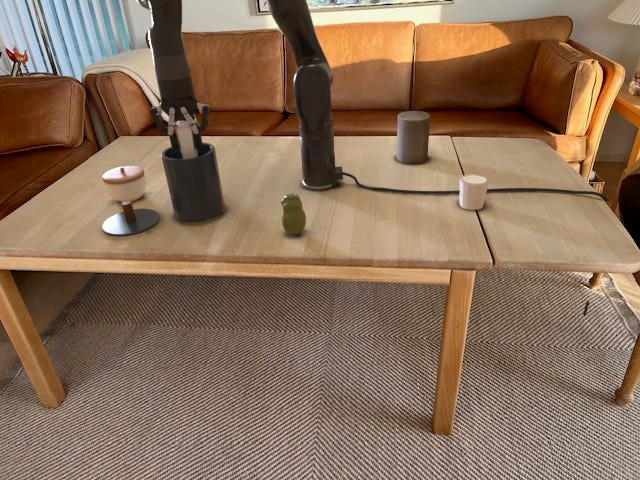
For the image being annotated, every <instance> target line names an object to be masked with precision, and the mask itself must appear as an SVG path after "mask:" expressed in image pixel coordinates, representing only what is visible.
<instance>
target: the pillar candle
mask: <svg viewBox="0 0 640 480" xmlns="http://www.w3.org/2000/svg"><path fill="white" fill-rule="evenodd" d="M396 127H397V133H396V160H397V161H398V162H400V163H402V164H407V165H418V164H422V163H425V162H427V161H428V159H429V158H428V157H429V155H428V154H429V143H430V142H429V141H430V128H431V114H430V113H428V112H425V111H422V110H421V111H419V110H409V111H403V112H400V113H398V114H397V126H396Z"/></svg>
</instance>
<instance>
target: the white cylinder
mask: <svg viewBox="0 0 640 480" xmlns="http://www.w3.org/2000/svg"><path fill="white" fill-rule="evenodd" d="M489 183H490V179H489V177H487V176H485V175H481V174H476V173H469V174H464V175H461V176H460V177H459V190H460V193H459V206H460V208H462V209H465V210H469V211H478V210H481V209H483V207H484V204H485V200H486V196H487V193H488V192H487V189H489V188H488V187H489Z"/></svg>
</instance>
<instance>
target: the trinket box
mask: <svg viewBox="0 0 640 480" xmlns="http://www.w3.org/2000/svg"><path fill="white" fill-rule="evenodd" d="M101 177H102V182H103V183H104V186H105V190H107V193H108V194H109V196H110V197H111V198H113V199H114V200H115V201H118V202H120V203H122V202H124V201H131V202H134V201H137V200H139V199H141V198H142V196H143V195H144V194H145V192H146V189H147V180H146V176H145V169H144V168H143V167H141V166H139V165H138V166H137V165H126V166H124V165H123V166H119V167H115V168H111V169H110V170H108V171H106V172H105V173H103V175H102V176H101Z"/></svg>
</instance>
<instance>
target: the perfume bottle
mask: <svg viewBox="0 0 640 480" xmlns="http://www.w3.org/2000/svg"><path fill="white" fill-rule="evenodd" d="M178 122H179V125H176V128H175V132H176V135H177V139H178V142H179V146H180V149H181V153H182V156H183V159H188V158H194V157H198V153H197V149H196V148H195V142H194V137H193V134H194V132H193V130H192V128H191V126H189V124H188V122H187V121H183V120H180V121H178Z"/></svg>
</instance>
